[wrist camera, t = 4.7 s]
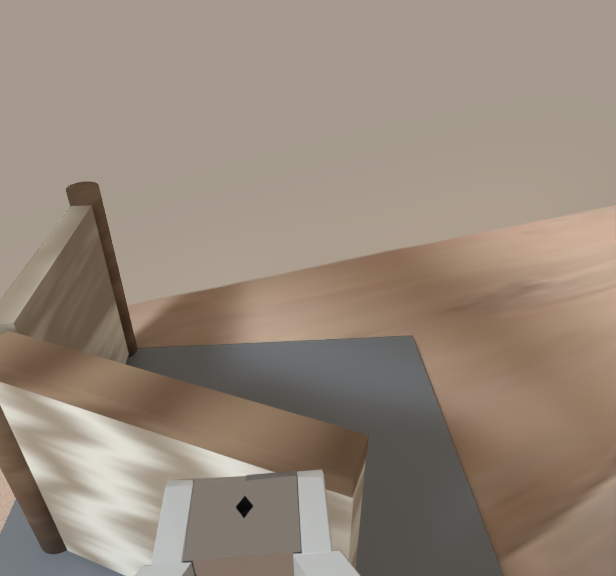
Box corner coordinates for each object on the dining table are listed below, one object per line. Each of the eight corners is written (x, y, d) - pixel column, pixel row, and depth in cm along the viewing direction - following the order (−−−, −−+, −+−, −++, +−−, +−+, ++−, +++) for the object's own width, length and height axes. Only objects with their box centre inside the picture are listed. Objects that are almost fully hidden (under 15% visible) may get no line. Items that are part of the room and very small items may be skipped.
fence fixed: (36, 559, 33) (-71, 356, 24) (115, 346, 51) (71, 182, 41) (75, 556, 33) (-17, 354, 24) (140, 345, 51) (102, 181, 41)
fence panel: (65, 553, 32) (-28, 356, 24) (87, 525, 34) (8, 330, 25) (339, 673, 27) (354, 476, 18) (350, 633, 29) (369, 434, 20)
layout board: (-154, 891, 22) (-161, 889, 21) (83, 354, 50) (82, 350, 50) (590, 814, 23) (594, 811, 23) (411, 338, 52) (412, 334, 51)
